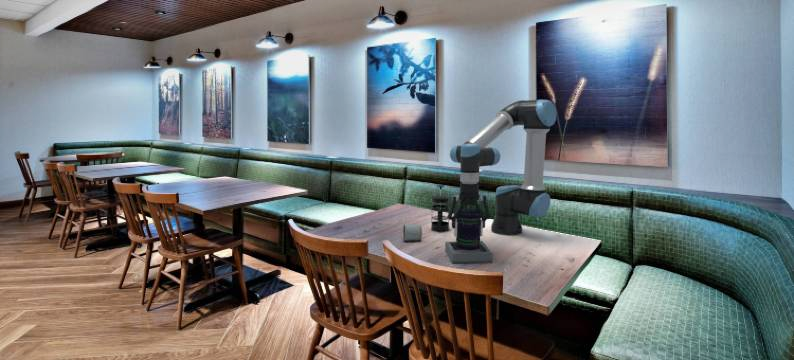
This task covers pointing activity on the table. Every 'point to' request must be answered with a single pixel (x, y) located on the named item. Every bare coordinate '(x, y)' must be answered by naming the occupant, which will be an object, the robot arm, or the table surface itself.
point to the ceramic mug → (412, 232)
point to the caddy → (468, 254)
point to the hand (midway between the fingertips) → (468, 235)
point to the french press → (440, 213)
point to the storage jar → (468, 229)
